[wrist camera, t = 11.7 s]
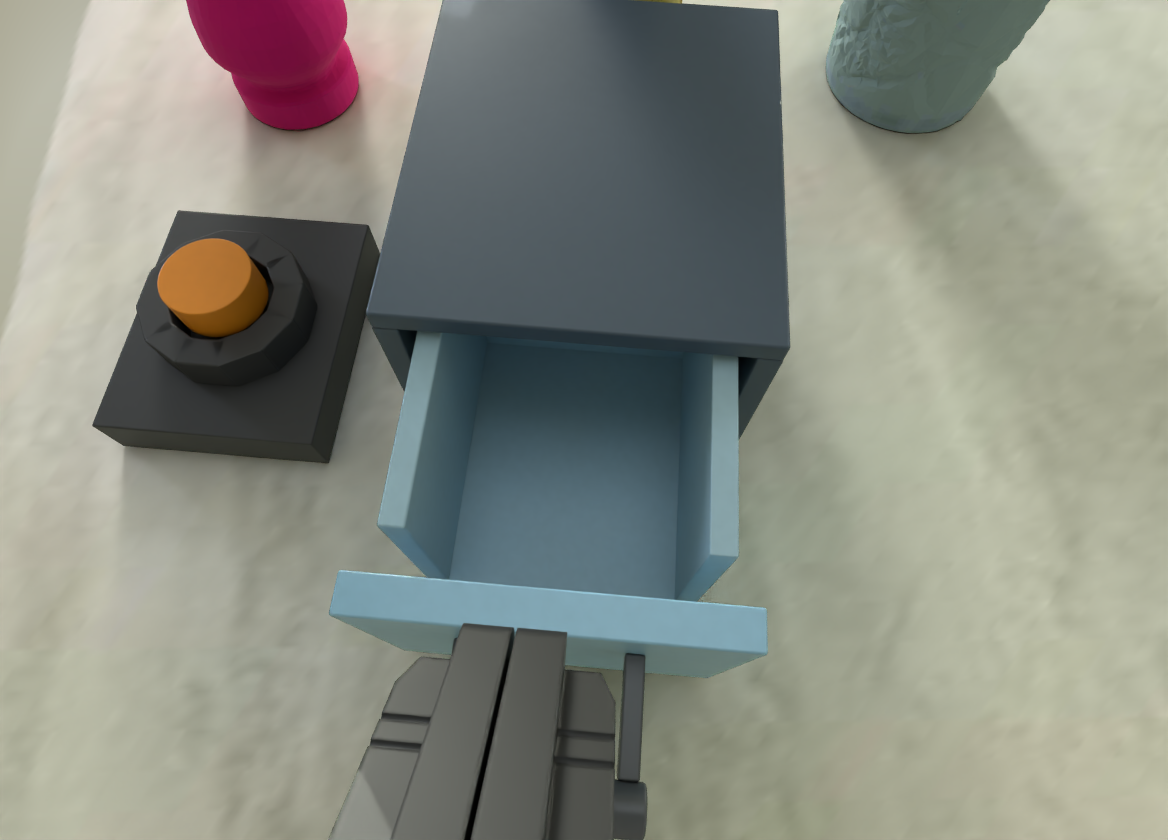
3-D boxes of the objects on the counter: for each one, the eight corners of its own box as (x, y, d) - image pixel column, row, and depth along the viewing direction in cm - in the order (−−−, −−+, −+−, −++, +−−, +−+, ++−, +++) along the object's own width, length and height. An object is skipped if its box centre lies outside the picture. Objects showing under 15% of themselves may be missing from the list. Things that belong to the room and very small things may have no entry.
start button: (167, 333, 29) (143, 310, 27) (195, 260, 30) (173, 234, 28) (255, 341, 28) (236, 318, 27) (278, 267, 30) (261, 241, 28)
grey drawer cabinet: (721, 470, 30) (791, 348, 21) (431, 445, 31) (364, 314, 21) (724, 202, 36) (778, 9, 26) (480, 184, 36) (445, -14, 27)
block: (122, 445, 30) (60, 407, 27) (200, 239, 35) (156, 182, 31) (329, 463, 30) (295, 426, 27) (380, 253, 35) (357, 197, 31)
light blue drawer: (706, 823, 24) (772, 870, 16) (377, 791, 24) (280, 822, 16) (713, 357, 32) (760, 230, 23) (459, 337, 32) (420, 204, 24)
